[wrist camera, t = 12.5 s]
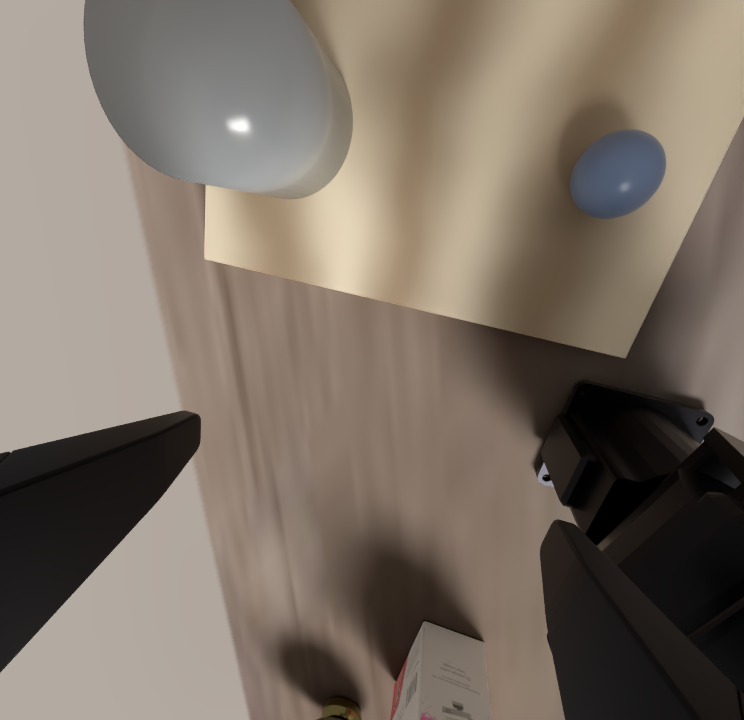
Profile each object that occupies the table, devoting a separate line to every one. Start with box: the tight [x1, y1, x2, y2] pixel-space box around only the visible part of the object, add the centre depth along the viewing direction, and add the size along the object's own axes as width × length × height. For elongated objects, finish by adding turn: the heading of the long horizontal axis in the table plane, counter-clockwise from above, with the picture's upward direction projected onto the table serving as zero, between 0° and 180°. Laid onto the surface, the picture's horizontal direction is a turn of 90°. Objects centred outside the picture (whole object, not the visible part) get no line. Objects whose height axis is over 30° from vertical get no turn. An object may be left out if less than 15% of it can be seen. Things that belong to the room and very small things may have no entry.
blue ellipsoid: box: [570, 129, 666, 219], centre depth 14 cm, size 3×3×3 cm
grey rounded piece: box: [84, 0, 353, 199], centre depth 13 cm, size 6×6×7 cm
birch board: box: [204, 0, 744, 358], centre depth 15 cm, size 22×22×1 cm
